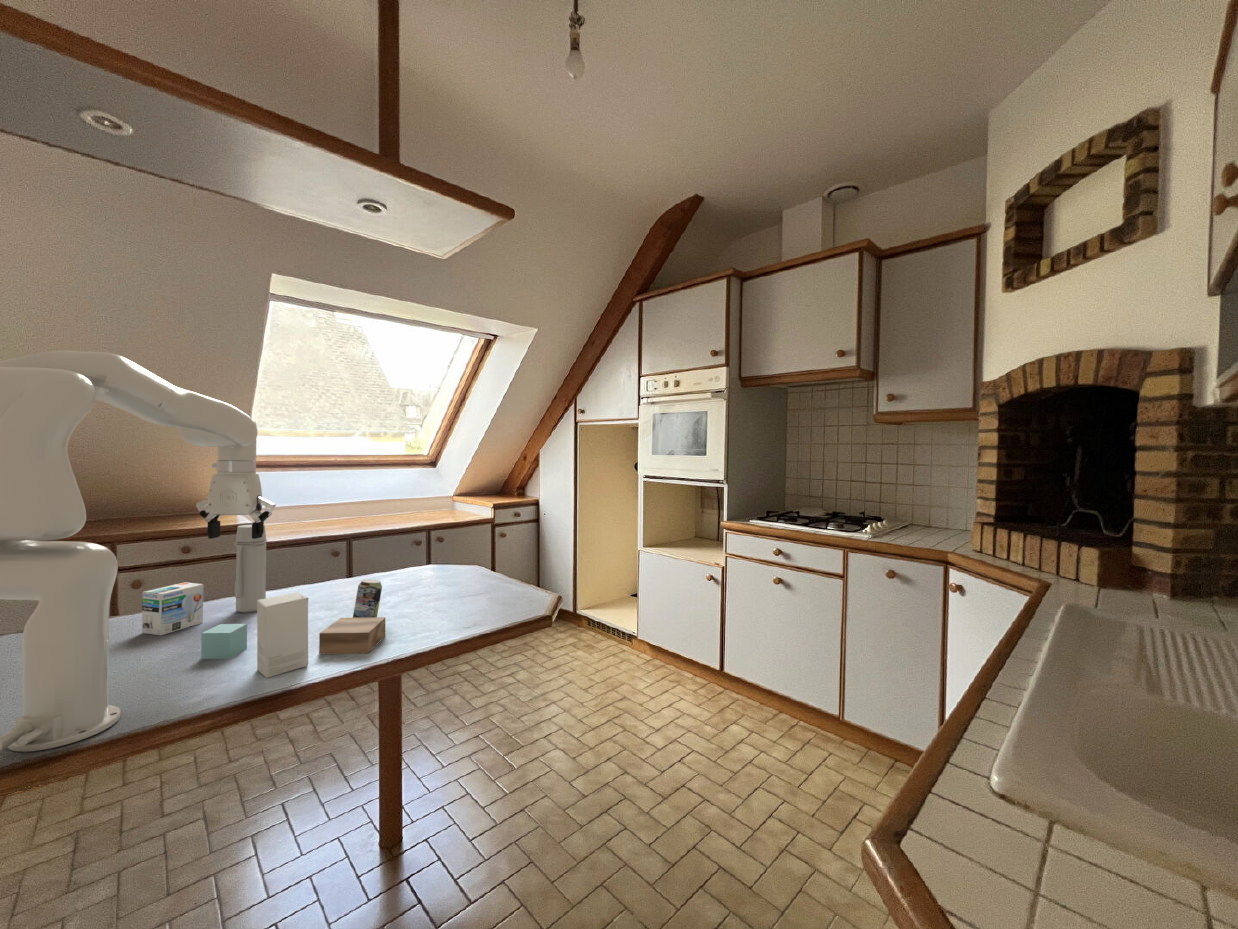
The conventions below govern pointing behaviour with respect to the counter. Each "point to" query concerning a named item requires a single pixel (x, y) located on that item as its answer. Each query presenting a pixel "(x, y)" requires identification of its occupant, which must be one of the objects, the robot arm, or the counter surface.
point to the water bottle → (250, 569)
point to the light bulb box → (172, 608)
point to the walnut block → (352, 635)
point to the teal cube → (223, 641)
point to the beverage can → (367, 599)
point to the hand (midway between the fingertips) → (235, 537)
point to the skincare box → (282, 634)
